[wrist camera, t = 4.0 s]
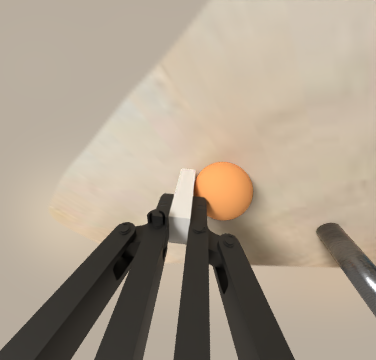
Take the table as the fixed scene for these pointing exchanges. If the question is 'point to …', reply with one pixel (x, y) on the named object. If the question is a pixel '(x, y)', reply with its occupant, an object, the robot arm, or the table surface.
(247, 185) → the ball
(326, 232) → the post
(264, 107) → the table surface
